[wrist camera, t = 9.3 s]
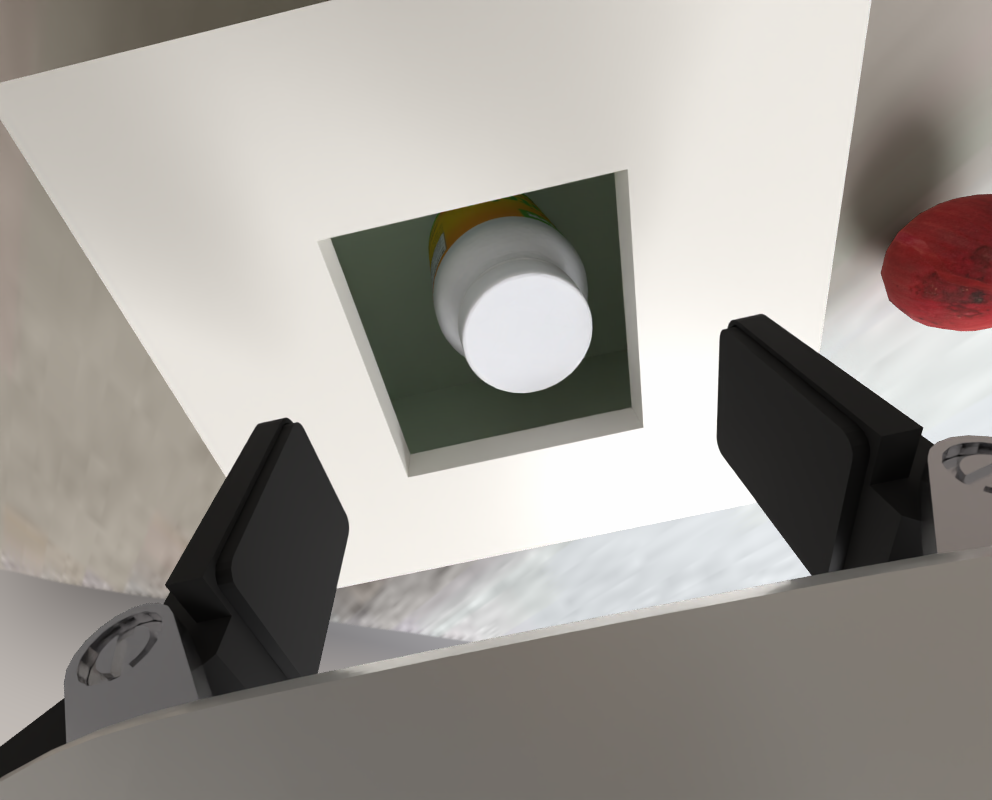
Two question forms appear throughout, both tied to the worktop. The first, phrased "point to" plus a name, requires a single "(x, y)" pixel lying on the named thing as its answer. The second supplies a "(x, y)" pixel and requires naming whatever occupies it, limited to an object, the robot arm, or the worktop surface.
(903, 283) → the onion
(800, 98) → the caddy
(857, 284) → the worktop surface
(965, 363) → the worktop surface
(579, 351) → the supplement bottle
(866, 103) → the worktop surface
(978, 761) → the robot arm
